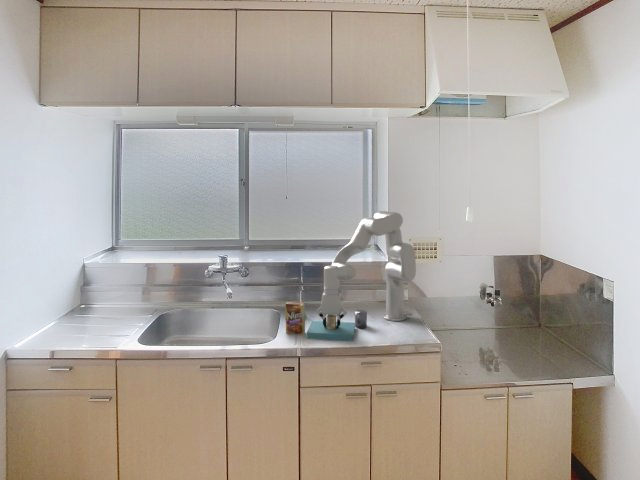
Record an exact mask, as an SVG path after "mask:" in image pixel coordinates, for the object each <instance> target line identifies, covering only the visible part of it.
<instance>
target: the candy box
mask: <svg viewBox="0 0 640 480" xmlns="http://www.w3.org/2000/svg"><path fill="white" fill-rule="evenodd" d="M285 333H286V334H293V335H300V336H303V335H304V334H305V333H306V303H304V302H296V301H286V303H285Z"/></svg>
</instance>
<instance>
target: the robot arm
mask: <svg viewBox="0 0 640 480" xmlns="http://www.w3.org/2000/svg"><path fill="white" fill-rule="evenodd" d="M403 222H404V218H403V215H402V214H401V213H399V212H395V211H386V210H384V211H383V210H379V211H377V212H375V213H374V214H373V217H364V218H362V219H361V220H360V222H359V224H358V226H357V228H356V229H355V232H354V234H353V235H352V238H350V239H351V240H350V241H349V242H348V243H347V244H346V245H345V246H343V247H342V248H341V249H340V250H339V251H338V252H337V254H336V255H335V257H334V259H333V260H332V263H331V264H330V265H326V266H324V269H323V292H322V295H321V303H320V306H319V307H318V308H317V309H316V311H315V312H316V314H317V315H318V316H319V317H320V318H321V319H322V321H323V325H324V327H326V321H327V317H326V316H327V315H328V314H333V315H336V322H337V328H339V326H340V322H341V320H342V319H343V318H344V317H345V316H346V315H347V314H348V311H347V310H346V309H345V308H344V307H343V299H342V293H343V288H340V281H350V280H353V279H354V278H355V276H356V274H357V270H356V268H355V267H354V266H353V265H350V264H348V261H349V259H350V258H351V257H353V256H355V255H358V254H360V253H363V252H364V251H366V249H367V247H368V245H369V243H370V241H371V239H372V238H373V236H374V237H375V236H376V237H380V236H384V238H385V239H384V240H385V250H386V255H387V257H388V258H390V259H392V260H390V261H388V262H386V264H385V268H384V273H385V281H386V283H385V284H386V288H385V289H386V290H385V292H386V293H385V295H386V296H385V312H384V313H383V314H382V318H383V319H385V320H386V321H390V322H391V321H392V322H398V321H399V322H402V321H405V320H406V319H407V316H413V312H412V311H410V310H405V308H404V307H405V302H404V301H405V283H404V282H407V283H409V282H412V281H413V280H414V279H416V278H415V277H416V274H417V267H416V266H417V264H416V251H415V248H414V247H413V245H411V244H410V243H407V242H403V237H402V231H401V227H402V225H403Z"/></svg>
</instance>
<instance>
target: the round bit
mask: <svg viewBox="0 0 640 480" xmlns="http://www.w3.org/2000/svg"><path fill="white" fill-rule="evenodd" d="M367 315H368V311H367V310H365V309H356V310H355V311H354V323H355V328H356V329H360V330H362V329H366V328H367V327H368V324H367V323H368V319H367V317H368V316H367Z"/></svg>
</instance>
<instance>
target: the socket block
mask: <svg viewBox="0 0 640 480" xmlns="http://www.w3.org/2000/svg"><path fill="white" fill-rule="evenodd" d="M355 328H356V327H355V322H347V321H346V322H345V321H340V326H339V328H337V321H336V330H330V329H327V320H326V327H324V325H323V320H311V322H310V325H309V326H308V329H307V331H306V339H310V340H325V341H326V340H327V341H344V342H345V341H347V342H354V337H355Z"/></svg>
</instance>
